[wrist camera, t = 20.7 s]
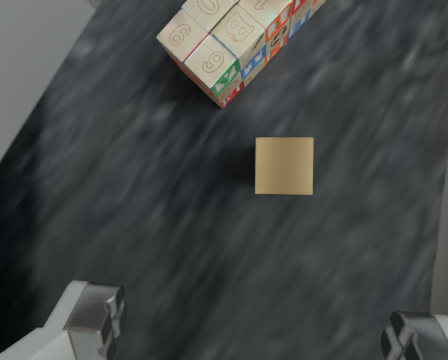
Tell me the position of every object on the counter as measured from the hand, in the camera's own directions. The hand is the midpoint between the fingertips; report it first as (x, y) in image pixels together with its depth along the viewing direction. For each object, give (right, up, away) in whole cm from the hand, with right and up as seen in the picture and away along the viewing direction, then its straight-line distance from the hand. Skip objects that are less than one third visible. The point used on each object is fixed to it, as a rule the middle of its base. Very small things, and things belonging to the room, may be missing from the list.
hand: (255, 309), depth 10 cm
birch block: (+5, +5, +25) cm, 26 cm away
